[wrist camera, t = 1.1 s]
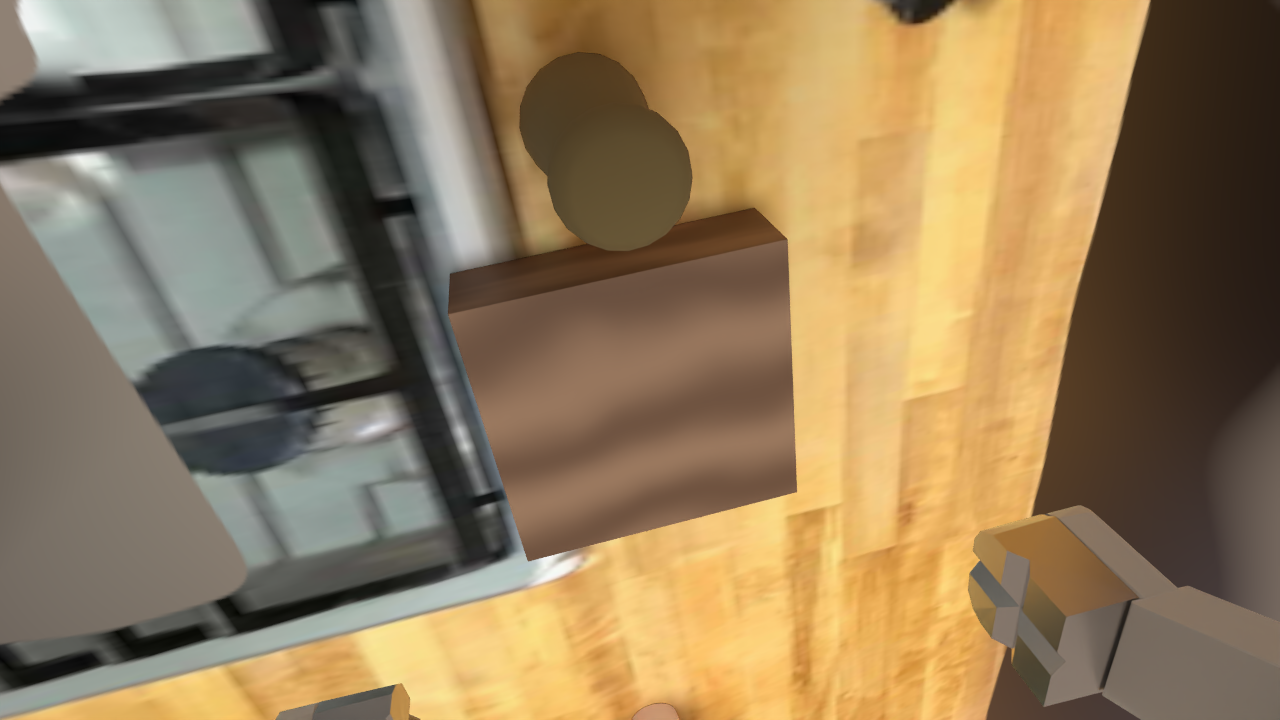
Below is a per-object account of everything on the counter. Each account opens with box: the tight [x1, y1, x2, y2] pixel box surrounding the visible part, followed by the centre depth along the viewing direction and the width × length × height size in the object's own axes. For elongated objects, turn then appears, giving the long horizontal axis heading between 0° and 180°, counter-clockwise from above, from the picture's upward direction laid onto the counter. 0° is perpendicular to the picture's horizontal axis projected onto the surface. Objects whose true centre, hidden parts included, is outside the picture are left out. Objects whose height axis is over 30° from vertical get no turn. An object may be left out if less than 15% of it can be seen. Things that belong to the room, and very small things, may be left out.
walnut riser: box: [448, 208, 797, 561], centre depth 40 cm, size 16×16×5 cm
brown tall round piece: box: [520, 52, 692, 251], centre depth 29 cm, size 6×6×11 cm
